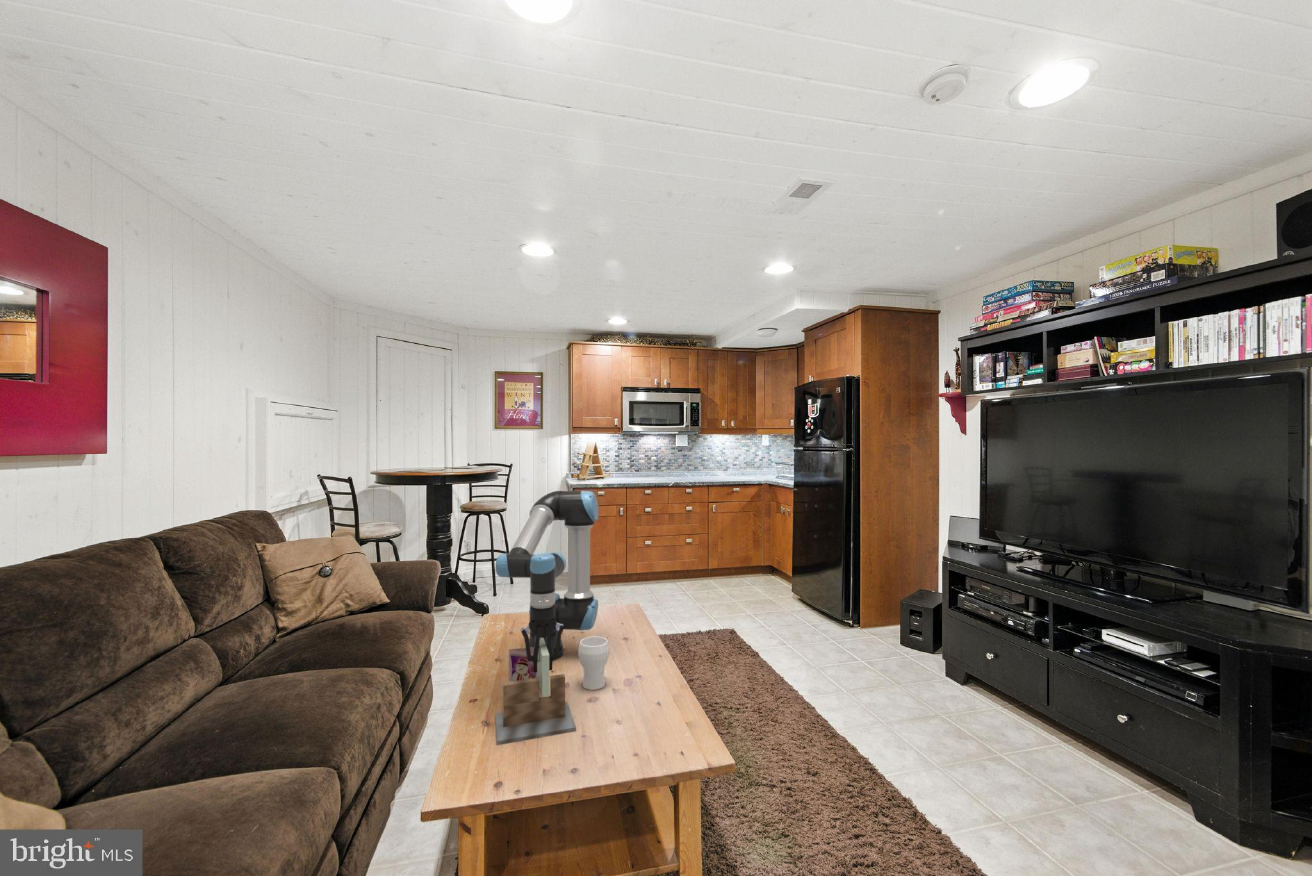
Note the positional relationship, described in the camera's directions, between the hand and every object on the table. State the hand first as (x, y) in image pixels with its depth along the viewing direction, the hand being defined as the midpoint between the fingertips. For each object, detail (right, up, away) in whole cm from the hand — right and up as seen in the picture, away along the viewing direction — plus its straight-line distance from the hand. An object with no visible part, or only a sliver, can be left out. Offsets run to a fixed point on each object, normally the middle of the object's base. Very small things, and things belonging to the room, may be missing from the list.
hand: (542, 681), depth 163 cm
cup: (+14, -10, +19) cm, 26 cm away
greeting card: (-8, -10, +13) cm, 19 cm away
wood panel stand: (-1, -10, -6) cm, 11 cm away
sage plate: (0, -1, -1) cm, 1 cm away
